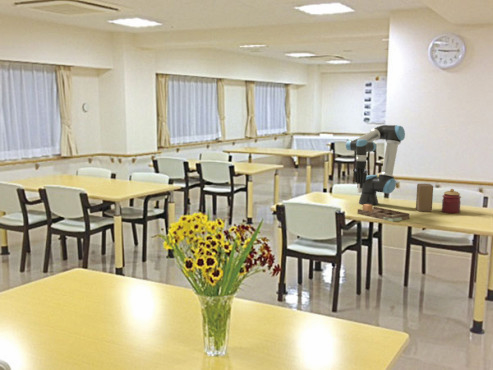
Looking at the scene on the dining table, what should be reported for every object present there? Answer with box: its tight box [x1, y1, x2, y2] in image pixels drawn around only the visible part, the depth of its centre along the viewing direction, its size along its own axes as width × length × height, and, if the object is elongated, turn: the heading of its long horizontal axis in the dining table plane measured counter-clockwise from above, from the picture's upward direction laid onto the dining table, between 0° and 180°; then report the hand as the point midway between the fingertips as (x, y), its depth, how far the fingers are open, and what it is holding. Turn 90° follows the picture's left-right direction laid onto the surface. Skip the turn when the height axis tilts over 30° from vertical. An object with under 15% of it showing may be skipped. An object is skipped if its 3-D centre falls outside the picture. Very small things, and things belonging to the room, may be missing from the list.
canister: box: [441, 188, 462, 214], centre depth 395 cm, size 13×13×18 cm
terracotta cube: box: [362, 204, 374, 212], centre depth 386 cm, size 5×5×5 cm
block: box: [415, 183, 434, 213], centre depth 400 cm, size 10×10×20 cm
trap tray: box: [357, 206, 410, 223], centre depth 380 cm, size 32×18×4 cm, turn 36°
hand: (359, 192), depth 391 cm, fingers closed
